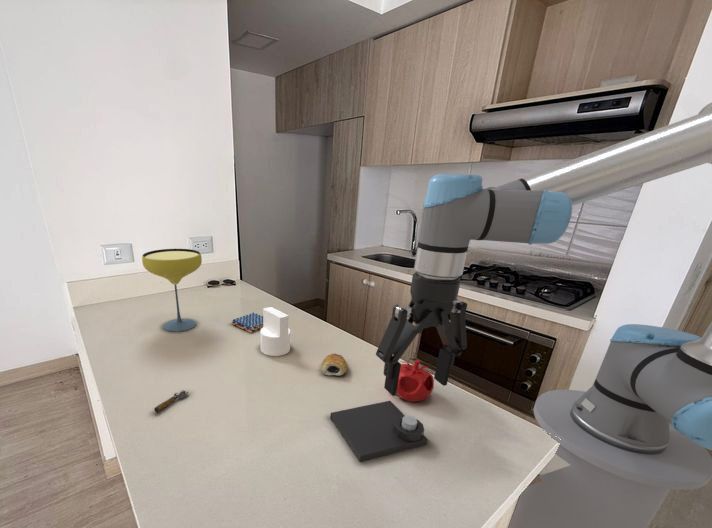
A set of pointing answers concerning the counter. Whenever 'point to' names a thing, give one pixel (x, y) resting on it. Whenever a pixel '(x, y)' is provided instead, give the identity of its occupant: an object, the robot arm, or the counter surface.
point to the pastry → (334, 365)
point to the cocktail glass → (173, 275)
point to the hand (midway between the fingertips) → (415, 386)
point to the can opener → (170, 401)
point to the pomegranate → (414, 382)
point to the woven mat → (249, 322)
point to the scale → (376, 430)
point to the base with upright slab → (274, 333)
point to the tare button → (409, 423)
